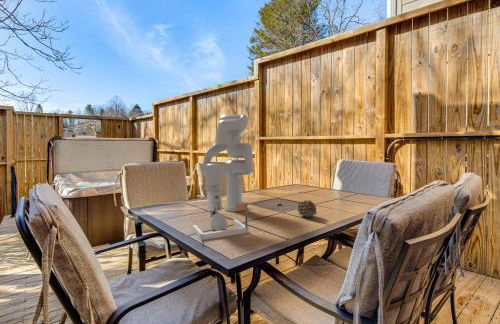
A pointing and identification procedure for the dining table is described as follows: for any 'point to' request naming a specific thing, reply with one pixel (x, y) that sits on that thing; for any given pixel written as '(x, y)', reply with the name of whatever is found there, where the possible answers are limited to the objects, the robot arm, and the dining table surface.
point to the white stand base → (229, 232)
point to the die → (218, 222)
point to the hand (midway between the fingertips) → (214, 223)
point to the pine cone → (306, 208)
